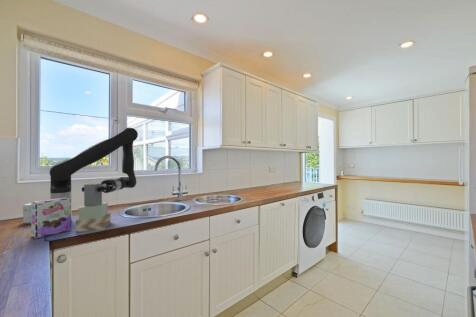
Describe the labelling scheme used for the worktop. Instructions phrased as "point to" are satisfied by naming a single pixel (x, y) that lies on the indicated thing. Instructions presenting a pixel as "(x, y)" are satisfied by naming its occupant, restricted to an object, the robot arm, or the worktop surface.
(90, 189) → the grey block
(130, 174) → the robot arm
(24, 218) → the small box
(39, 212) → the candy box
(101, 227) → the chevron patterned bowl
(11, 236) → the worktop surface
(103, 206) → the sage block
